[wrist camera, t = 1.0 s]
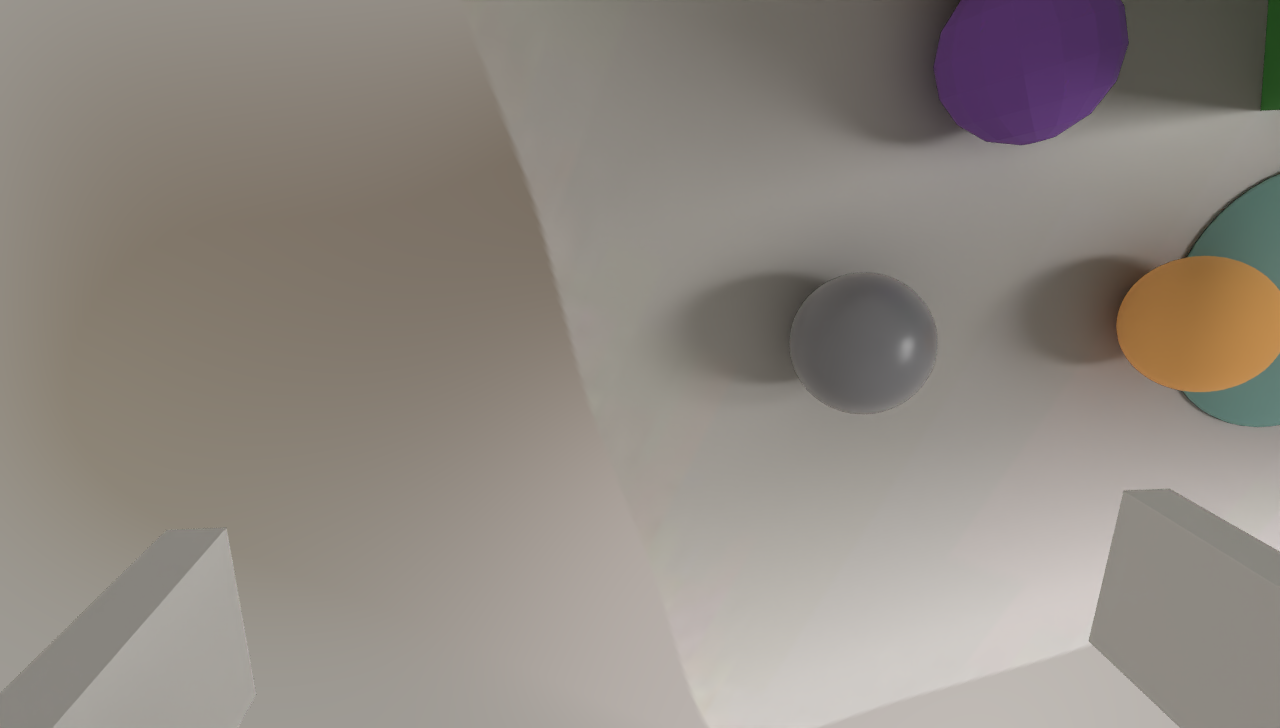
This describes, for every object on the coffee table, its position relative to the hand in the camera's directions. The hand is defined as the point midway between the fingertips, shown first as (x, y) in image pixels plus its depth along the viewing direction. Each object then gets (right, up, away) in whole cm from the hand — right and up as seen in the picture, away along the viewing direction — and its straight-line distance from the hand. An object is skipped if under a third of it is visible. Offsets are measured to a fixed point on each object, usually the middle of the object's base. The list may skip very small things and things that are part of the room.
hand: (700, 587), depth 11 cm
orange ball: (+22, +5, +18) cm, 29 cm away
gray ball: (+8, +4, +17) cm, 19 cm away
